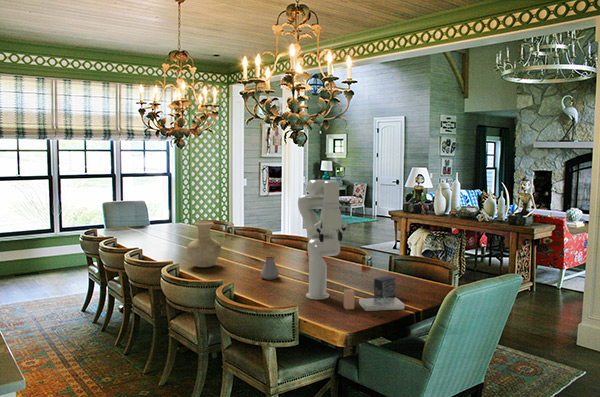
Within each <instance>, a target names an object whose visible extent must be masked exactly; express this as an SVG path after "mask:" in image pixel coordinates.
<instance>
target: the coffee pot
mask: <svg viewBox="0 0 600 397" xmlns="http://www.w3.org/2000/svg"><path fill="white" fill-rule="evenodd" d="M264 259H265V261H262V260H260V259H257V258H254V257H249V258H248V261H250V260H251V261H255V262H258V263H262V264H263V267H262V268H261V271H260V277H262V278H263V279H264V280H268V281H269V280H272V281H273V280H276V279H277V278H278V277H279V275H280V272H279V269H278V267H277V265H276V263H275V259H276V257H274V256H265V257H264Z"/></svg>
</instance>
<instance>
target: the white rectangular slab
mask: <svg viewBox="0 0 600 397" xmlns="http://www.w3.org/2000/svg"><path fill="white" fill-rule="evenodd" d="M358 304H359V305H360V306H361V307H362V309H363V310H364V311H366V312H370V311H371V312H372V311H373V312H374V311H393V310H394V311H396V310H405V303H404V302H402V301H401V300H400V299H399V298H397V297H396V296H394V297H391V298H375V297H373V298H372V297H371V298H359V299H358Z"/></svg>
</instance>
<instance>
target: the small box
mask: <svg viewBox="0 0 600 397" xmlns="http://www.w3.org/2000/svg"><path fill="white" fill-rule="evenodd" d="M373 283H374V284H373V298H393V297H396V277H393V276H389V275H385V276H380V277H377V278H374V279H373Z"/></svg>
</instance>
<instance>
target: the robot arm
mask: <svg viewBox="0 0 600 397" xmlns="http://www.w3.org/2000/svg"><path fill="white" fill-rule="evenodd" d="M305 189H306V192H307V194H306V193H305V194H302V195H300V196H299V197H298V199H297V206H298V211H299V213H300V215H301V217H302V219H303V221H304V226H305V231H306V235H307V238H308V239H309V241H308V243H307V254H308V292H307V293H305V297H306V298H307V299H310V300H316V301H317V300H318V301H319V300H326V299H329V297H330V294H329V293H328V292H327V279H328V278H327V277H328V276H327V268H328V267H327V263H326V261H325V259H324V258H323V257H333V256H334V257H335V256H338V255H339V254H340V252H341V244H340V242H343V241H342V240H343V234H344V232H345V231H346V229H347V227H348V223H347V222H345V221H343V219H342V213H341V212H342V211H341V209H340V207H342V203H340V183H339V181H336V180H333V179H310V180H309V181H308V182H307V184H306V187H305ZM314 210H320V216H319V215H318V214H317V213H316V212H315V211H314ZM342 225H343V226H342ZM337 231H338V232H337Z"/></svg>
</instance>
